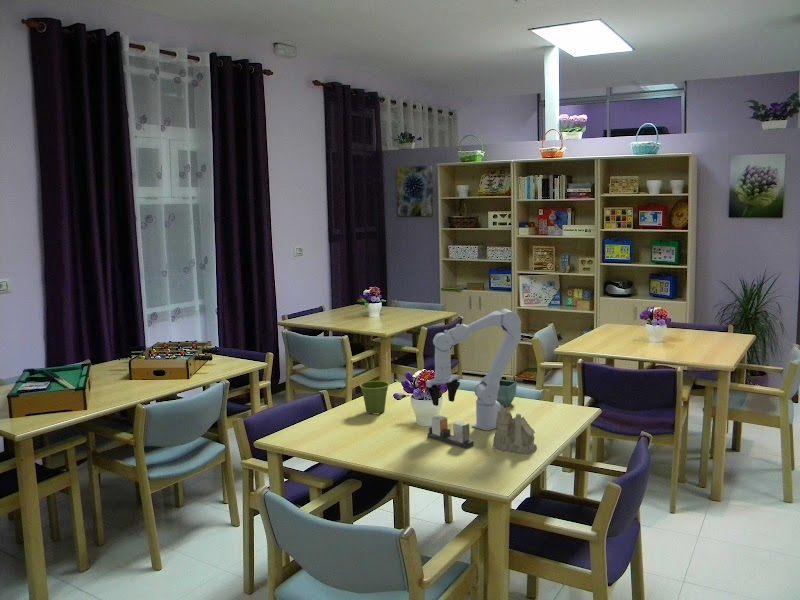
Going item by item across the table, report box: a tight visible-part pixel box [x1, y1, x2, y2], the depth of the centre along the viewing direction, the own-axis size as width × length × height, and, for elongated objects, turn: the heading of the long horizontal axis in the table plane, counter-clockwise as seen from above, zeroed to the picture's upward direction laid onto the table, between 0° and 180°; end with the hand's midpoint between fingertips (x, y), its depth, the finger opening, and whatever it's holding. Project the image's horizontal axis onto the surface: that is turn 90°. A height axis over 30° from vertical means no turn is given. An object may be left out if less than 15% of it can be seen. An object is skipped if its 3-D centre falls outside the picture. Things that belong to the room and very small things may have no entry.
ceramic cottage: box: [492, 405, 538, 455], centre depth 241 cm, size 16×16×15 cm
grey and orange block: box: [431, 414, 449, 436], centre depth 251 cm, size 4×4×6 cm
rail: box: [427, 420, 474, 449], centre depth 247 cm, size 18×4×8 cm, turn 43°
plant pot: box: [358, 380, 390, 414], centre depth 285 cm, size 12×12×11 cm
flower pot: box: [496, 379, 518, 407], centre depth 291 cm, size 9×9×9 cm
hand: (443, 403), depth 259 cm, fingers open, 7 cm apart
